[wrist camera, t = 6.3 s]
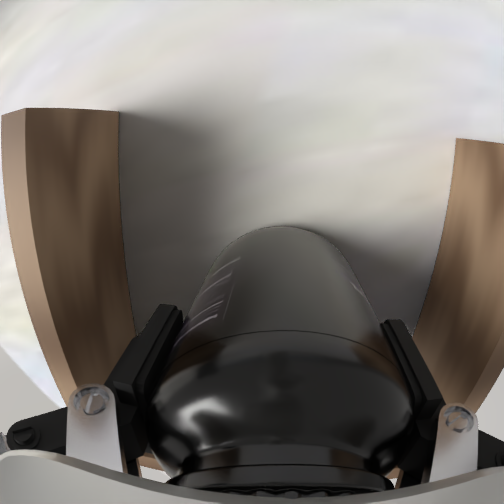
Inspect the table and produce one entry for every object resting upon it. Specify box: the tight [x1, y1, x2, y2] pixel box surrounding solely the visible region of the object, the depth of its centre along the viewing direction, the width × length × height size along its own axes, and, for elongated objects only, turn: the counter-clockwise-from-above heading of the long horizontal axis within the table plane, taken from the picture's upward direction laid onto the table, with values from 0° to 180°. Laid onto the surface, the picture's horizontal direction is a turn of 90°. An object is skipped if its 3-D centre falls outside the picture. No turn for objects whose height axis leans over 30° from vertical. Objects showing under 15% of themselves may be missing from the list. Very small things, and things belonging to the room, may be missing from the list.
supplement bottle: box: [145, 226, 415, 499], centre depth 9 cm, size 7×7×12 cm
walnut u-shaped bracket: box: [1, 108, 504, 479], centre depth 11 cm, size 15×17×6 cm
